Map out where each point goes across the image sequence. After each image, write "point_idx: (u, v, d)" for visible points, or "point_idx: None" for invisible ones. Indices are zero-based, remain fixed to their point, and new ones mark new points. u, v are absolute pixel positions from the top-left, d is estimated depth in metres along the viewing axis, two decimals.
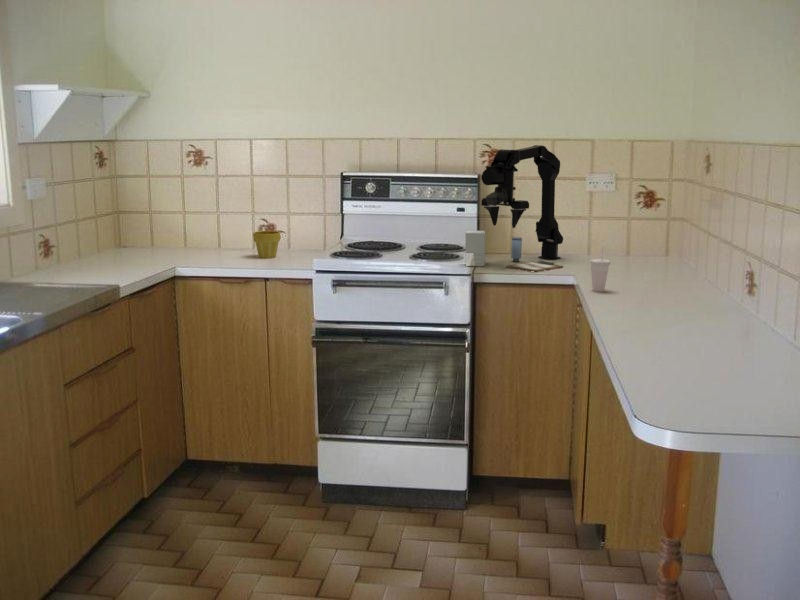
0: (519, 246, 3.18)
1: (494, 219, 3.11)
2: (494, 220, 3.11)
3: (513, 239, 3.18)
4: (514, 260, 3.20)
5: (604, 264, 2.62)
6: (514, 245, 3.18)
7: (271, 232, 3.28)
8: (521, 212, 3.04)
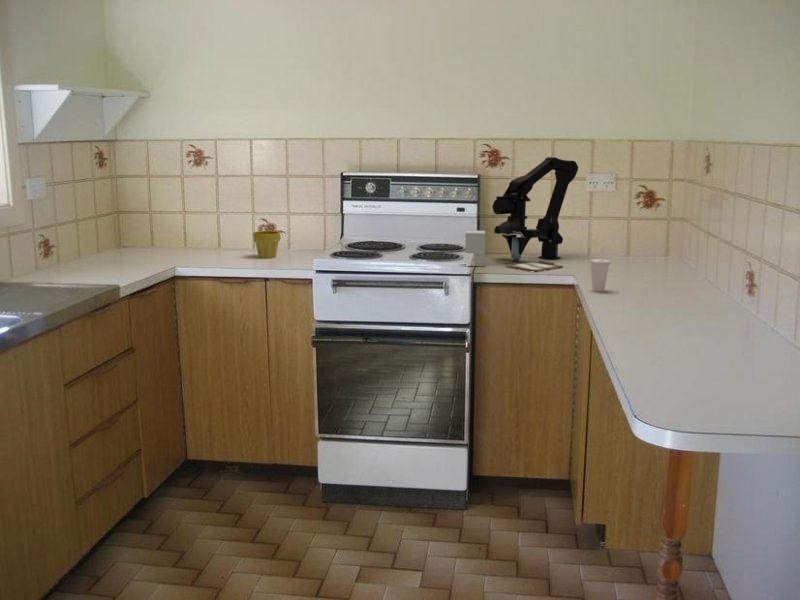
0: None
1: None
2: None
3: (513, 239, 3.18)
4: (514, 260, 3.20)
5: (604, 264, 2.62)
6: (514, 245, 3.18)
7: (271, 232, 3.28)
8: (528, 239, 3.18)
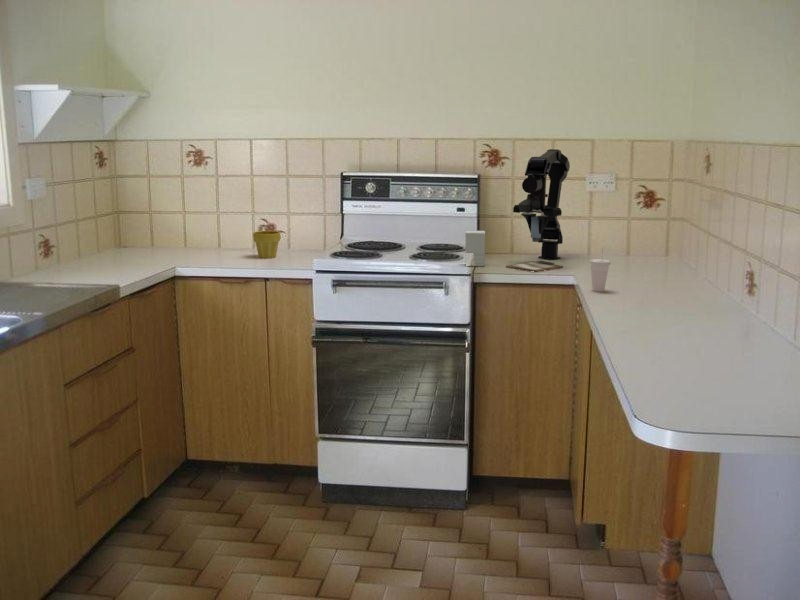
0: None
1: None
2: None
3: (533, 218, 3.09)
4: (534, 240, 3.11)
5: (604, 264, 2.62)
6: (534, 224, 3.09)
7: (271, 232, 3.28)
8: (548, 218, 3.08)
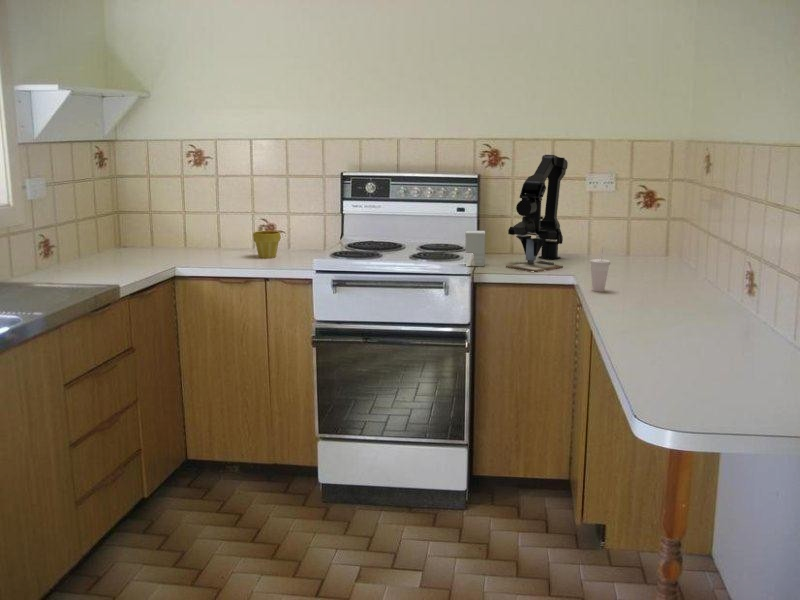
0: None
1: None
2: None
3: (528, 240, 3.08)
4: (529, 262, 3.10)
5: (604, 264, 2.62)
6: (529, 246, 3.09)
7: (271, 232, 3.28)
8: (543, 241, 3.08)
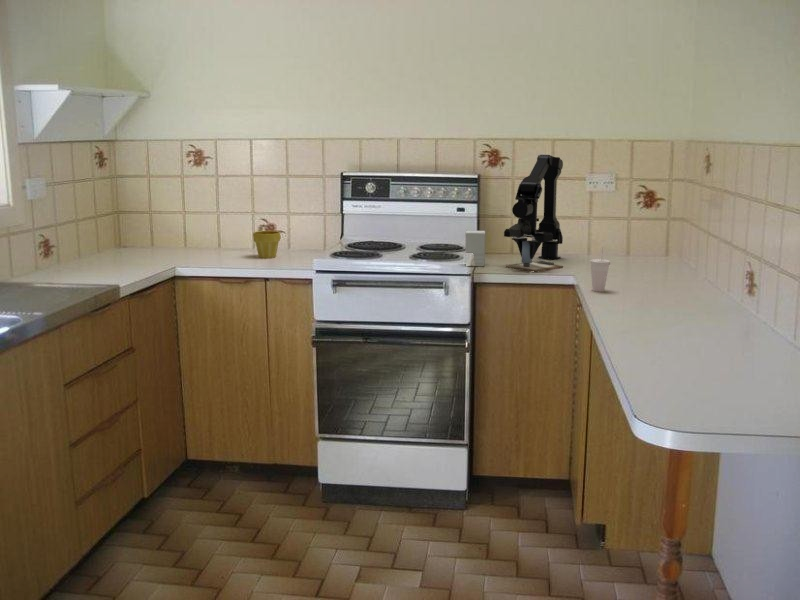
0: None
1: None
2: None
3: (524, 243, 3.03)
4: (525, 265, 3.05)
5: (604, 264, 2.62)
6: (525, 248, 3.03)
7: (271, 232, 3.28)
8: (539, 243, 3.03)
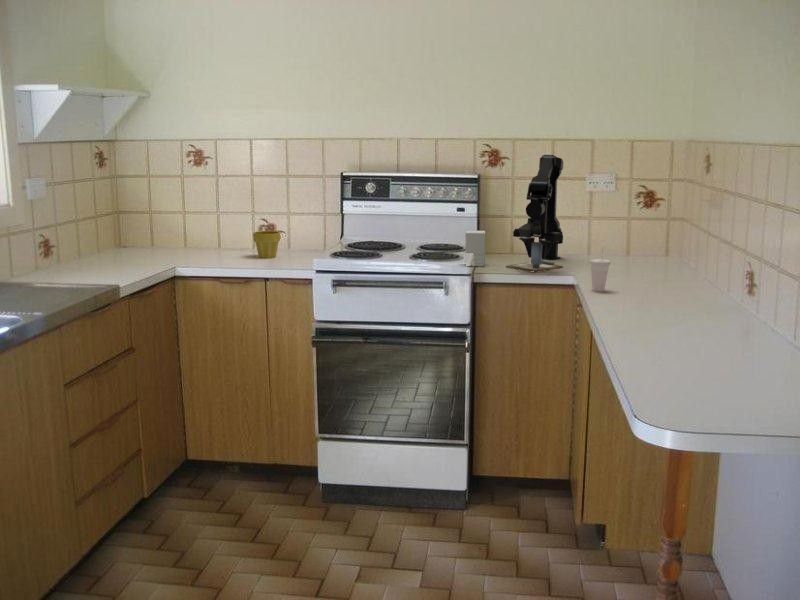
0: (539, 252, 3.00)
1: (529, 251, 3.04)
2: (529, 252, 3.04)
3: (533, 244, 3.00)
4: (534, 266, 3.02)
5: (604, 264, 2.62)
6: (534, 250, 3.00)
7: (271, 232, 3.28)
8: (551, 243, 2.99)
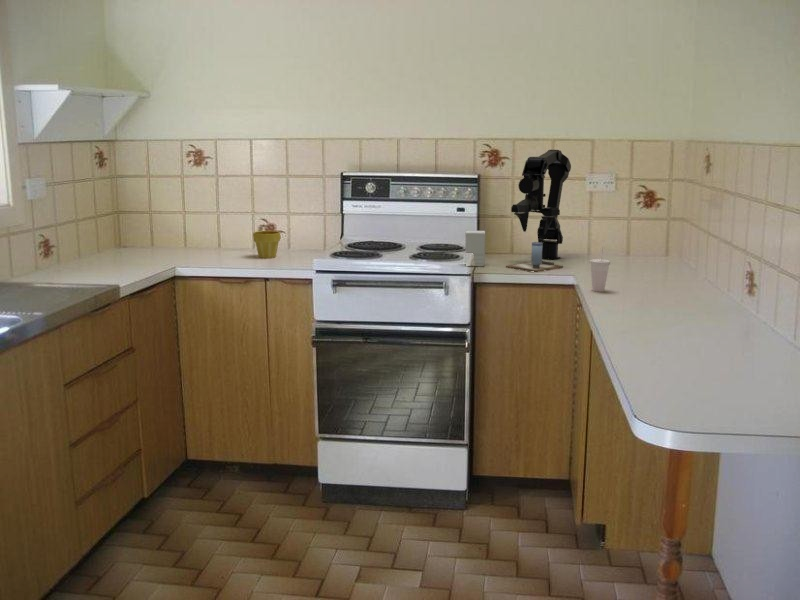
0: (540, 252, 3.00)
1: (524, 225, 3.15)
2: (524, 226, 3.15)
3: (533, 244, 3.00)
4: (534, 266, 3.02)
5: (604, 264, 2.62)
6: (534, 250, 3.00)
7: (271, 232, 3.28)
8: (552, 219, 3.08)
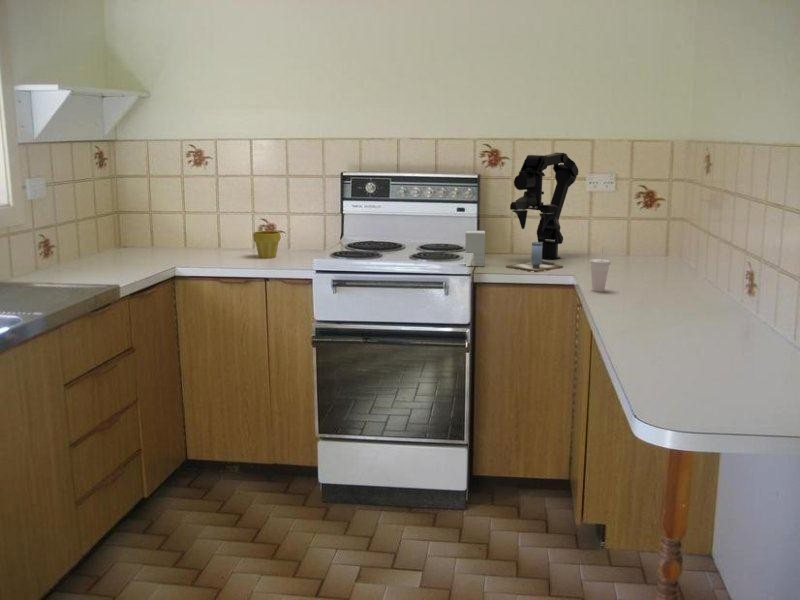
0: (540, 252, 3.00)
1: (522, 223, 3.20)
2: (522, 224, 3.20)
3: (533, 244, 3.00)
4: (534, 266, 3.02)
5: (604, 264, 2.62)
6: (534, 250, 3.00)
7: (271, 232, 3.28)
8: (549, 216, 3.12)
